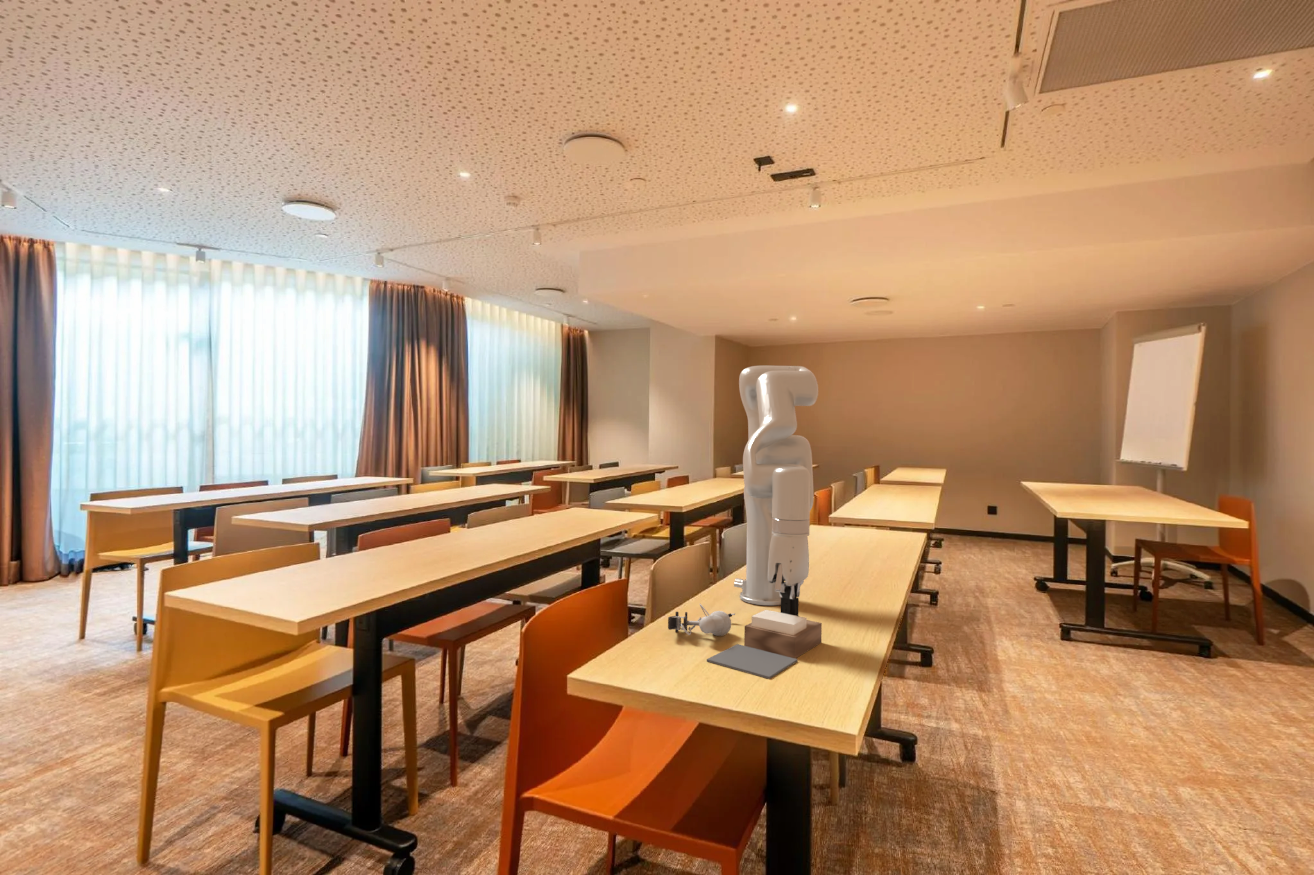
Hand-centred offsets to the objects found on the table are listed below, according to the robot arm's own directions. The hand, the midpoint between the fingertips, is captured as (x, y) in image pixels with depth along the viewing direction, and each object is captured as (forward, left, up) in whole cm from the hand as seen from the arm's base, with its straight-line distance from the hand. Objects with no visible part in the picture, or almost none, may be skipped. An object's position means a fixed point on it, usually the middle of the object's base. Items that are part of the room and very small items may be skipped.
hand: (789, 616), depth 128 cm
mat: (0, -15, -5) cm, 16 cm away
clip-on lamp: (-17, -6, -6) cm, 19 cm away
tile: (0, -4, -1) cm, 5 cm away
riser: (0, -2, -5) cm, 6 cm away
